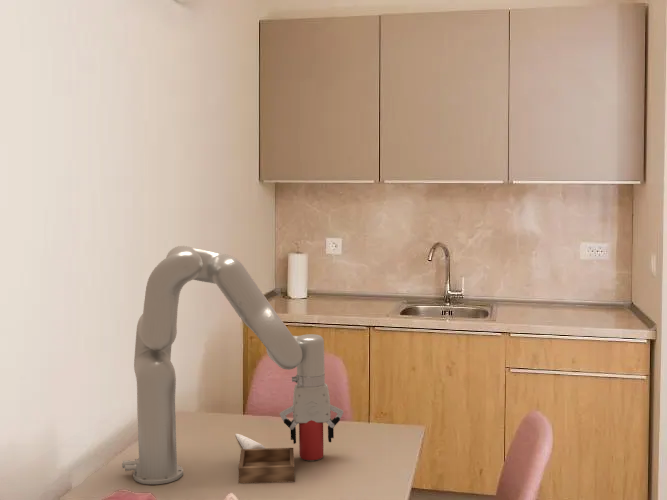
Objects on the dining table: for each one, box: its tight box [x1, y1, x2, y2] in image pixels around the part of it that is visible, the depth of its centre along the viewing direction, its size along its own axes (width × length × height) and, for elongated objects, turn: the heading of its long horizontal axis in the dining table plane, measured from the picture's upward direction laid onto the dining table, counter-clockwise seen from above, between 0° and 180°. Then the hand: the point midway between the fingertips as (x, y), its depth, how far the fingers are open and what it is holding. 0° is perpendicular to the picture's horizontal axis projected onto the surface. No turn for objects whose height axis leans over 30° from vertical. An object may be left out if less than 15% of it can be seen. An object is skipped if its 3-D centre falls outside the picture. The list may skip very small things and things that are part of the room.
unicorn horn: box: [234, 433, 266, 449], centre depth 227 cm, size 5×24×5 cm, turn 18°
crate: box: [238, 447, 295, 484], centre depth 207 cm, size 14×14×4 cm
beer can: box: [298, 420, 325, 462], centre depth 217 cm, size 7×7×12 cm
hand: (312, 441), depth 217 cm, fingers open, 9 cm apart
